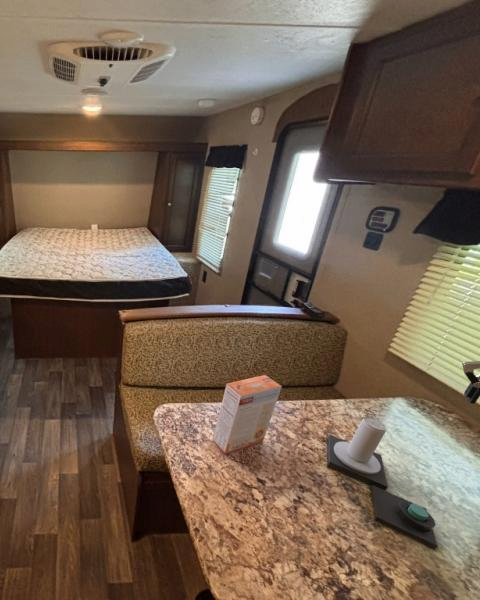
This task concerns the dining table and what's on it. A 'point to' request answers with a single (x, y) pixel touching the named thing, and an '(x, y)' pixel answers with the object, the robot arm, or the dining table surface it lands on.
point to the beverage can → (366, 439)
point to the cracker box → (245, 413)
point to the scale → (355, 464)
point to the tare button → (417, 512)
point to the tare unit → (401, 517)
